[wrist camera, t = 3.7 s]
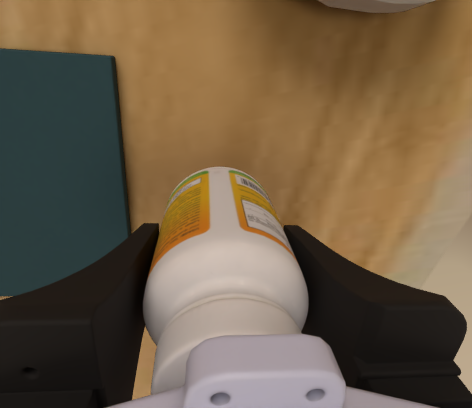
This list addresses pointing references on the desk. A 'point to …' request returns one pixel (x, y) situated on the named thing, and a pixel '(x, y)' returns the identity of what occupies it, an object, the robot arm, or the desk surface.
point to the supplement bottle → (219, 271)
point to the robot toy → (376, 5)
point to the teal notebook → (58, 166)
